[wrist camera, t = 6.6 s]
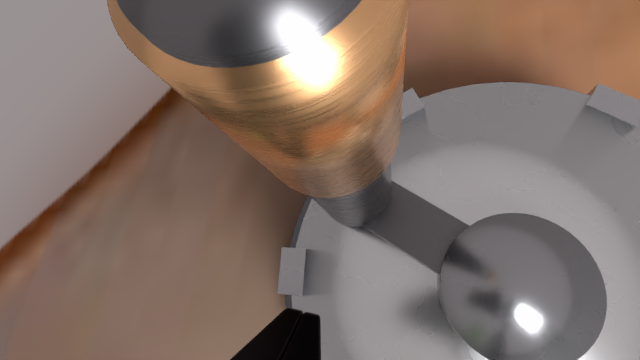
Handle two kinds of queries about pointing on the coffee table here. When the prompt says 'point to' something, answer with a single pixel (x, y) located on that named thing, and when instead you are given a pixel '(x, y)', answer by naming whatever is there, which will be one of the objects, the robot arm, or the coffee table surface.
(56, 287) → the coffee table surface
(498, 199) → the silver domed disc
